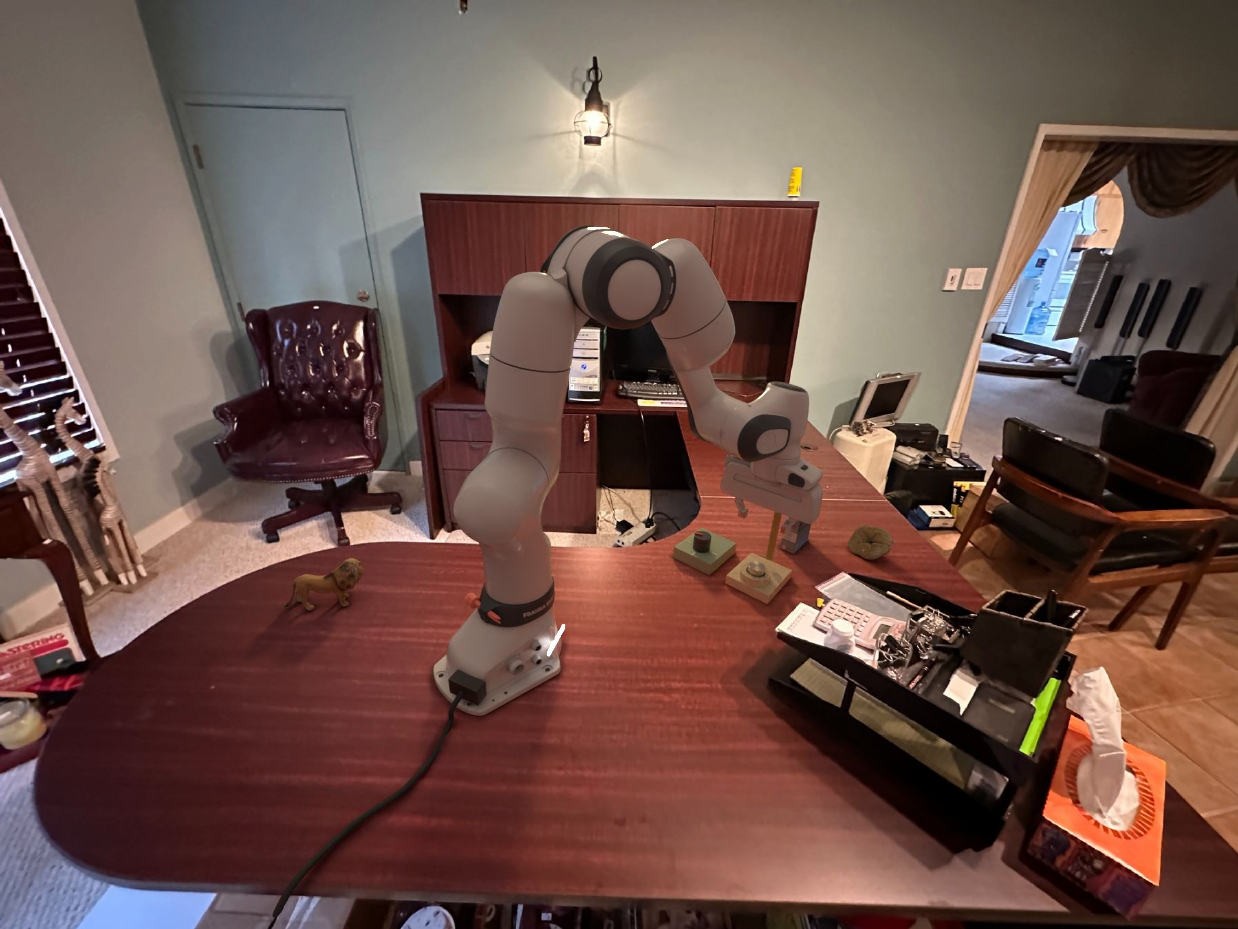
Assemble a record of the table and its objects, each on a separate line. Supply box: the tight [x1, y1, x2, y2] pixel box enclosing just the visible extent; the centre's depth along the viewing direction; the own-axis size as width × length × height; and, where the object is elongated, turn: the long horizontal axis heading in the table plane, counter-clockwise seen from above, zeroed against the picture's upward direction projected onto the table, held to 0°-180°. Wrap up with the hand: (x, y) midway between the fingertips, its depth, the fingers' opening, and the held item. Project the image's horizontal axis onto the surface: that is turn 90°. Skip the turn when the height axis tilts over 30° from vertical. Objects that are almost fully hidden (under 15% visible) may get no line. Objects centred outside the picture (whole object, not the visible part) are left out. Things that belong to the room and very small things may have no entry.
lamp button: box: [747, 561, 765, 577], centre depth 106 cm, size 4×4×2 cm
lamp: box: [764, 511, 783, 561], centre depth 111 cm, size 12×8×19 cm
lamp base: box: [724, 552, 793, 605], centre depth 109 cm, size 12×10×4 cm
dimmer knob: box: [693, 530, 712, 553], centre depth 115 cm, size 4×4×4 cm
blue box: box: [779, 518, 812, 555], centre depth 122 cm, size 9×4×12 cm, turn 139°
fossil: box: [847, 524, 894, 560], centre depth 121 cm, size 9×4×10 cm
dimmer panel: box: [672, 527, 737, 576], centre depth 117 cm, size 12×10×3 cm
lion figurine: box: [283, 557, 364, 612], centre depth 96 cm, size 15×5×9 cm, turn 110°
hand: (763, 524), depth 102 cm, fingers open, 8 cm apart
